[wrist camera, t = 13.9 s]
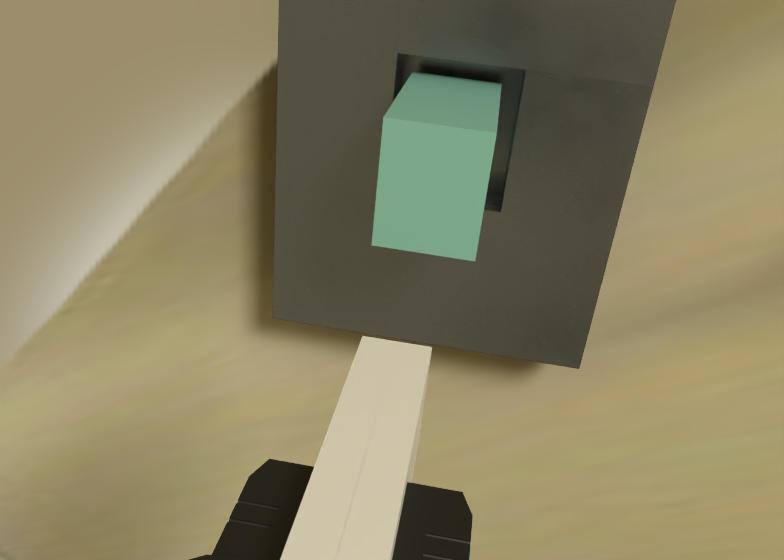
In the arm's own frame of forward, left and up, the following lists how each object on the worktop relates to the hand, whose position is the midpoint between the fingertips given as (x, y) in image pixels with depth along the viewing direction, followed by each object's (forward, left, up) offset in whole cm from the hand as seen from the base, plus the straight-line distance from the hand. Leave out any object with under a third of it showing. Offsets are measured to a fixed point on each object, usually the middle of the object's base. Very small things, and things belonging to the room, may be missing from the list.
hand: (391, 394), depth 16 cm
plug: (0, +1, -21) cm, 21 cm away
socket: (0, 0, -22) cm, 22 cm away
